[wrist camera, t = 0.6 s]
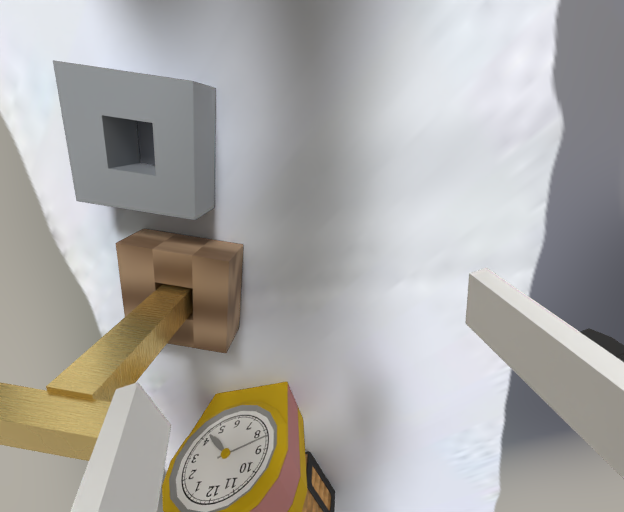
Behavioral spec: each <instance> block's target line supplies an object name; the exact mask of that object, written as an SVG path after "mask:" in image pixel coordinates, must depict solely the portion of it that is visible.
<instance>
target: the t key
mask: <svg viewBox="0 0 624 512" xmlns="http://www.w3.org/2000/svg"><path fill="white" fill-rule="evenodd" d="M192 312H193V288H187V287H181V286H175V285H169V284H162V285H161V286H160V287H159V288H158V289H157V290H155V291H154V292H153V293H152V294H151V295H150V296H149V297H147V298H146V299H145V300H144V301H143V302H142V303H141V304H140V305H138V306H137V307H136V308H135V309H134V310H133V311H132V312H130V313H129V314H128V315H127V316H126V317H125V318H124V319H122V320H121V321H120V322H119V323H118V324H117V325H116V326H114V327H113V328H112V329H111V330H110V331H109V332H108V333H106V334H105V335H104V336H103V337H102V338H101V339H100V340H99V341H98V342H96V343H95V344H94V345H93V346H92V347H91V348H90V349H88V350H87V351H86V352H85V353H84V354H83V355H81V356H80V357H79V358H78V359H77V360H76V361H75V362H73V363H72V364H71V365H70V366H69V367H68V368H67V369H66V370H64V371H63V372H62V373H61V374H60V375H59V376H58V377H56V378H55V379H54V380H53V381H52V382H51V383H50V384H49V385H47V386H46V388H47V391H45V390H39V389H34V388H28V387H22V386H17V385H11V384H5V383H0V445H6V446H11V447H16V448H22V449H27V450H32V451H38V452H43V453H49V454H55V455H60V456H65V457H70V458H76V459H81V460H87V461H89V460H90V458H91V455H92V452H93V449H94V447H95V444H96V441H97V439H98V436H99V433H100V431H101V428H102V425H103V423H104V420H105V417H106V415H107V412H108V409H109V406H110V404H111V401H112V398H113V396H114V393H115V390H116V389H118V388H121V387H124V386H128V385H131V384H134V383H135V382H136V381H137V380H138V379H139V377H140V376H141V375H142V374H143V372H144V371H145V370H146V369H147V367H148V366H149V365H150V364H151V362H152V361H153V360H154V359H155V358H156V356H157V355H158V354H159V353H160V351H161V350H162V349H163V348H164V346H165V345H166V344H167V343H168V341H169V340H170V339H171V338H172V336H173V335H174V334H175V333H176V332H177V330H178V329H179V328H180V327H181V325H182V324H183V323H184V322H185V320H186V319H187V318H188V317H189V315H190V314H191V313H192Z"/></svg>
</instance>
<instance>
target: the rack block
mask: <svg viewBox="0 0 624 512" xmlns="http://www.w3.org/2000/svg"><path fill="white" fill-rule="evenodd" d="M53 64H54V70H55V76H56V82H57V88H58V94H59V100H60V106H61V112H62V118H63V124H64V130H65V135H66V141H67V147H68V153H69V159H70V165H71V171H72V177H73V183H74V189H75V195H76V201H79V202H86V203H92V204H98V205H104V206H111V207H117V208H123V209H129V210H135V211H142V212H148V213H154V214H160V215H167V216H173V217H179V218H185V219H192V220H196V219H197V218H199V217H201V216H202V215H204V214H205V213H207V212H208V211H210V210H212V209H213V208H214V199H215V112H216V88H214V87H210V86H207V85H204V84H201V83H197V82H194V81H189V80H182V79H175V78H169V77H162V76H155V75H148V74H141V73H135V72H128V71H121V70H114V69H108V68H101V67H94V66H87V65H81V64H74V63H67V62H60V61H53ZM137 121H143V122H150V123H153V139H154V155H155V165H151V164H144V163H140V155H139V142H138V130H137Z"/></svg>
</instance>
